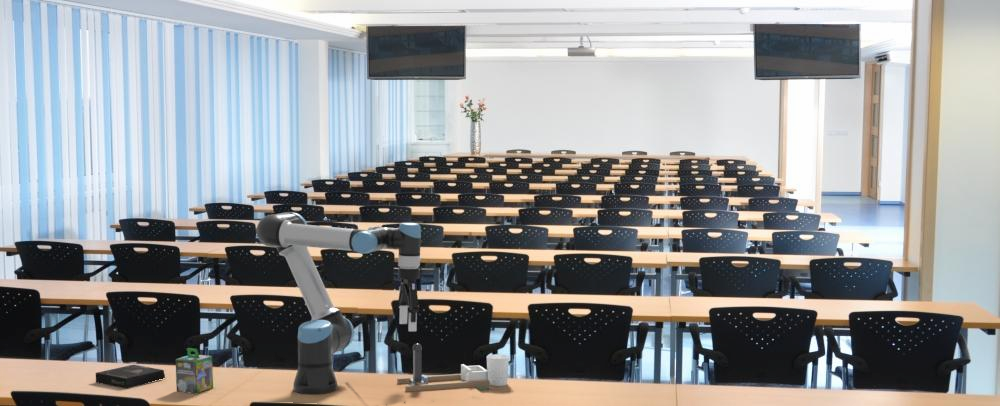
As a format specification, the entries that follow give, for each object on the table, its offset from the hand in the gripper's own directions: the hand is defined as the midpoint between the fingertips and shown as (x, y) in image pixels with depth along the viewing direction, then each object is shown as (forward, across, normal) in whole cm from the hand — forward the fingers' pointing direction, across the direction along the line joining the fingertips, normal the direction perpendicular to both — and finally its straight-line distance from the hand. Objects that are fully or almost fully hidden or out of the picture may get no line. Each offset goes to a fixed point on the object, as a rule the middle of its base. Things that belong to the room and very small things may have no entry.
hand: (407, 327), depth 388 cm
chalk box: (+23, +18, +71) cm, 77 cm away
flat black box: (+25, +39, +92) cm, 103 cm away
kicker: (+20, -5, -3) cm, 21 cm away
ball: (+18, -4, -22) cm, 29 cm away
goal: (+21, -4, -24) cm, 32 cm away
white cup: (+21, -5, -32) cm, 39 cm away
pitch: (+21, -5, -12) cm, 25 cm away
